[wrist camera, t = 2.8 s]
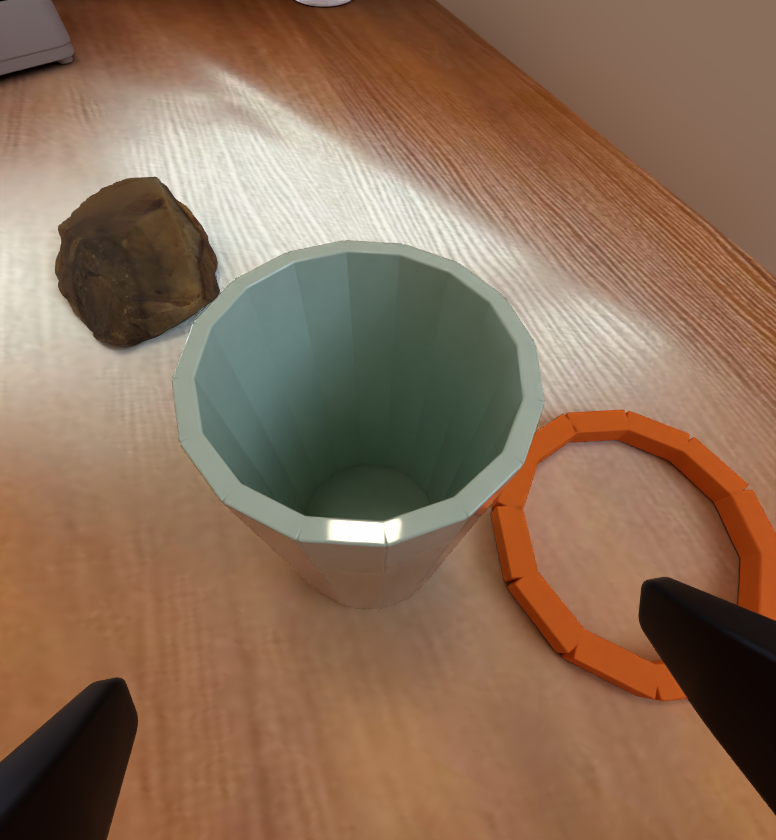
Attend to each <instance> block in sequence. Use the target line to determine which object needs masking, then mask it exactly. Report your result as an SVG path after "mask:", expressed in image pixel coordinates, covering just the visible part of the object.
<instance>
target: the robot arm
mask: <svg viewBox="0 0 776 840" xmlns="http://www.w3.org/2000/svg"><path fill="white" fill-rule="evenodd" d="M639 622H640V625H641V628H642V630H643V632H644V633H645V635H646V636H647V638H648V639H649V641H650V642H651V644H652V645H653V647H654V648H655V650H656V652H657V653H658V655H659V656H660V658H661V659H662V661H663V662H664V664H665V665H666V667H667V668H668V670H669V671H670V673H671V674H672V676H673V677H674V679H675V680H676V682H677V683H678V685H679V686H680V688H681V689H682V691H683V692H684V694H685V696H686V697H687V699H688V700H689V702H690V703H691V705H692V706H693V707H694V709H695V710H696V712H697V713H698V715H699V716H700V718H701V719H702V720H703V722H704V723H705V724H706V726H707V727H708V728H709V730H710V731H711V732H712V734H713V735H714V736H715V738H716V739H717V740H718V742H719V743H720V744H721V745H722V747H723V748H724V749H725V751H726V752H727V753H728V755H729V756H730V757H731V758H732V760H733V761H734V762H735V764H736V765H737V766H738V767H739V769H740V770H741V771H742V773H743V774H744V775H745V776H746V778H747V779H748V780H749V782H750V783H751V784H752V785H753V787H754V788H755V789H756V791H757V792H758V793H759V794H760V796H761V797H762V798H763V800H764V801H765V802H766V803H767V805H768V806H769V807H770V809H771V810H772V811H773V812H774V814H775V815H776V621H775V620H773V619H770V618H768V617H766V616H763V615H761V614H758V613H756V612H753V611H751V610H748V609H746V608H743V607H741V606H738V605H736V604H733V603H731V602H728V601H726V600H723V599H721V598H719V597H716V596H714V595H711V594H709V593H706V592H704V591H701V590H699V589H696V588H694V587H691V586H689V585H686V584H684V583H681V582H679V581H677V580H674V579H672V578H669V577H660V578H654V579H649V580H646V581H644V583H643V584H642V587H641V595H640V605H639ZM137 726H138V716H137V711H136V709H135V706H134V703H133V701H132V698H131V695H130V692H129V690H128V687H127V684H126V682H125V680H123V679H122V678H118V677H117V678H111V679H106V680H100V681H96V682H93V683H92V684H90V685H89V686H88V687H86V688H85V689H84V690H83V691H82V692H80V693H79V694H78V695H77V696H76V697H75V698H74V699H72V700H71V701H70V702H69V703H68V704H67V705H66V706H64V707H63V708H62V709H61V710H60V711H59V712H57V713H56V714H55V715H54V716H53V717H52V718H51V719H49V720H48V721H47V722H46V723H45V724H44V725H43V726H41V727H40V728H39V729H38V730H37V731H36V732H34V733H33V734H32V735H31V736H30V737H29V738H28V739H26V740H25V741H24V742H23V743H22V744H21V745H19V746H18V747H17V748H16V749H15V750H14V751H13V752H11V753H10V754H9V755H8V756H7V757H6V758H5V759H3V760H2V761H1V762H0V840H107V836H108V833H109V829H110V826H111V822H112V819H113V815H114V811H115V808H116V804H117V801H118V797H119V793H120V790H121V786H122V783H123V779H124V775H125V772H126V768H127V765H128V761H129V757H130V754H131V750H132V746H133V743H134V739H135V736H136V732H137Z"/></svg>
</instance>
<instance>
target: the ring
mask: <svg viewBox="0 0 776 840" xmlns="http://www.w3.org/2000/svg"><path fill="white" fill-rule="evenodd" d="M603 440H619V441H621V442H624V443H626V444H629V445H632V446H634V447H637V448H639V449H642V450H644V451H647V452H649V453H652V454H654V455H657V456H659V457H662V458H664V459H667V460H669V461H670V462H671V463H672V464H673V465H674V466H675V467H677V468H678V469H679V470H680V471H681V472H682V473H683V474H684V475H685V476H686V477H687V478H688V479H689V480H691V481H692V482H693V483H694V484H695V485H696V486H697V487H698V488H699V489H700V490H701V491H702V492H703V493H705V494H706V495H707V496H708V497H709V498H710V499H711V500H712V501H713V502H714V503H715V505H716V508H717V510H718V512H719V514H720V516H721V518H722V520H723V522H724V524H725V527H726V529H727V531H728V533H729V535H730V537H731V539H732V541H733V544H734V546H735V548H736V550H737V552H738V554H739V556H740V558H741V561H740V581H739V600H738V606H741V607H743V608H746V609H748V610H751V611H753V612H756V613H758V614H761V615H763V616H766V617H768V618H770V619H773V620H775V621H776V533H775V531H774V529H773V527H772V525H771V523H770V522H769V520H768V518H767V516H766V514H765V512H764V510H763V508H762V506H761V504H760V503H759V501H758V499H757V497H756V495H755V493H754V491H753V490H744V489H745V488H746V487H748V484H747V483H746V482H745V481H744V480H743V479H742V478H741V477H740V476H738V475H737V474H736V473H735V472H734V471H733V470H732V469H730V468H729V467H728V466H727V465H726V464H725V463H724V462H722V461H721V460H720V459H719V458H718V457H717V456H716V455H714V454H713V453H712V452H711V451H710V450H709V449H708V448H706V447H705V446H704V445H703V444H702V443H701V442H700V441H698V440H697V439H696V438H695V437H694V438H691V439H690V440H689V434H688V433H686V432H683V431H680V430H678V429H675V428H673V427H670V426H667V425H665V424H662V423H660V422H657V421H654V420H652V419H649V418H647V417H644V416H641V415H639V414H636V413H634V412H631V411H628V412H627V413H625V411H624V410H610V411H591V412H572V413H566V415H564V414H562V415H560V416H559V417H557V418H556V419H555V420H553V421H552V422H550V423H549V424H547V425H546V426H544V427H543V428H541V429H540V430H538V431H537V432H535V434H534V436H533V439H532V442H531V445H530V448H529V451H528V454H527V457H526V460H525V463H524V464H523V465H522V467H521V469H520V470H519V471H518V472H517V474H516V475H515V476H514V477H513V478H512V480H511V481H510V482H509V483H508V484H507V486H506V487H505V488H504V489H503V490H502V492H501V493H500V494H499V495H498V496H497V498H496V499H495V500H494V501H493V504H492V507H491V509H493V512H492V513H491V518H492V523H493V528H494V533H495V539H496V544H497V549H498V554H499V559H500V564H501V569H502V574H503V579H504V581H505V582H509V581H513V582H512V583H511V584H509V585H508V589H509V591H510V592H511V593H512V595H513V596H514V597H515V599H516V600H517V601H518V602H519V604H520V605H521V606H522V608H523V609H524V610H525V612H526V613H527V614H528V616H529V617H530V618H531V620H532V621H533V622H534V624H535V625H536V626H537V627H538V629H539V630H540V631H541V633H542V634H543V635H544V637H545V638H546V639H547V641H548V642H549V643H550V645H551V646H552V647H553V648H554V650H555V651H556V652H557V653H563V655H562V657H563V658H564V659H565V660H567V661H569V662H571V663H573V664H575V665H577V666H579V667H581V668H583V669H585V670H587V671H589V672H591V673H593V674H595V675H597V676H599V677H601V678H603V679H605V680H607V681H609V682H611V683H613V684H614V685H616V686H618V687H620V688H622V689H624V690H626V691H628V692H630V693H632V694H634V695H636V696H640V697H645V698H649V699H654V700H659V701H669V700H679V699H687V697H686V696H685V694H684V692H683V691H682V689H681V688H680V686H679V685H678V683H677V682H676V680H675V679H674V677H673V676H672V674H671V673H670V671H669V670H668V668H667V667H666V665H665V664H664V662H663V661H662V660H659V661H648V660H646V659H644V658H642V657H640V656H638V655H636V654H634V653H631V652H629V651H627V650H625V649H623V648H621V647H619V646H617V645H615V644H613V643H611V642H609V641H607V640H605V639H603V638H601V637H599V636H597V635H595V634H593V633H591V632H589V631H587V630H585V629H584V628H583V627H582V626H581V624H580V623H579V622H578V621H577V619H576V618H575V617H574V616H573V614H572V613H571V612H570V611H569V609H568V608H567V607H566V606H565V605H564V603H563V602H562V601H561V600H560V598H559V597H558V596H557V595H556V593H555V592H554V591H553V590H552V588H551V587H550V586H549V585H548V583H547V582H546V581H545V580H544V578H543V577H542V576H541V575H540V574H539V572H538V570H537V565H536V561H535V557H534V553H533V549H532V544H531V540H530V536H529V532H528V528H527V524H526V519H525V515H524V511H523V508H524V505H525V502H526V498H527V495H528V492H529V489H530V486H531V483H532V480H533V477H534V474H535V471H536V468H537V465H538V464H539V463H540V462H542V461H543V460H545V459H546V458H547V457H549V456H550V455H551V454H553V453H554V452H556V451H557V450H558V449H560V448H561V447H563V446H564V445H565V444H567V443H568V442H586V441H603Z"/></svg>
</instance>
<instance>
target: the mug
mask: <svg viewBox="0 0 776 840" xmlns="http://www.w3.org/2000/svg"><path fill="white" fill-rule="evenodd" d="M296 1H298V2H300V3H303V4H306V5H311V6H322V7H329V6H337V5H341V4H345V3H347V2H349V1H351V0H296Z"/></svg>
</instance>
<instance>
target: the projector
mask: <svg viewBox="0 0 776 840" xmlns="http://www.w3.org/2000/svg"><path fill="white" fill-rule="evenodd" d="M73 54H74V49H73V47H72V45H71V42H70V37H69V34H68V33H67V31H66V29H65V27H64V25H63V23H62V21H61V19H60V17H59V15H58V13H57V11H56V9H55V7H54V5H53V3H52V1H51V0H0V75H3V74H7V73H11V72H15V71H19V70H23V69H27V68H31V67H35V66H38V65H42V64H46V63H50V62H54V61H58V62H59V63H61V64H68V63H70V62H72V61H73V57H72V55H73Z"/></svg>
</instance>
